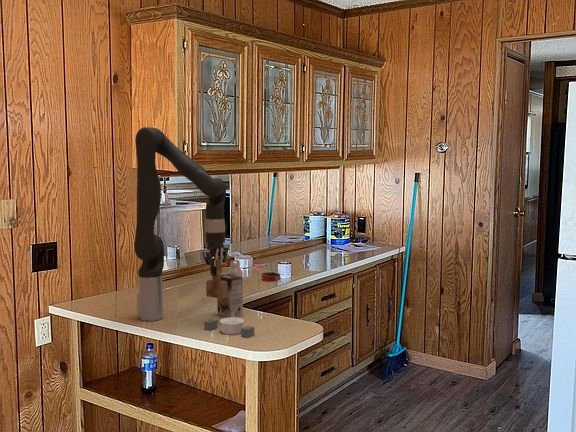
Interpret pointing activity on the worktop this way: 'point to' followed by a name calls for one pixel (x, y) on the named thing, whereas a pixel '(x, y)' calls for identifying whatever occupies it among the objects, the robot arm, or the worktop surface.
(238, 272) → the plastic bottle
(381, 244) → the worktop surface
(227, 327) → the ramekin
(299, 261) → the worktop surface
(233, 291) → the coffee box
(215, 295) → the stepped wooden block
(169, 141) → the robot arm
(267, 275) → the red and clear container
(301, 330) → the worktop surface
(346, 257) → the worktop surface
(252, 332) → the slate blocks
